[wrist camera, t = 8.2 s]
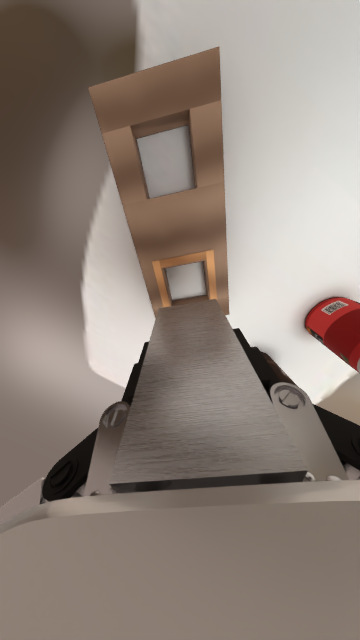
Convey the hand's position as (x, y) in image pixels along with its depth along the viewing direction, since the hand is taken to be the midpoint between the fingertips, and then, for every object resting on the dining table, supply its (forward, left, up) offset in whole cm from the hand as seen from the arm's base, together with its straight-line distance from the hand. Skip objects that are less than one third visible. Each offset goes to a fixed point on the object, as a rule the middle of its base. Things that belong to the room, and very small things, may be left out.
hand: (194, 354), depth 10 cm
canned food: (+11, +24, -18) cm, 32 cm away
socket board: (-7, 0, -18) cm, 19 cm away
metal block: (0, 0, -3) cm, 3 cm away
